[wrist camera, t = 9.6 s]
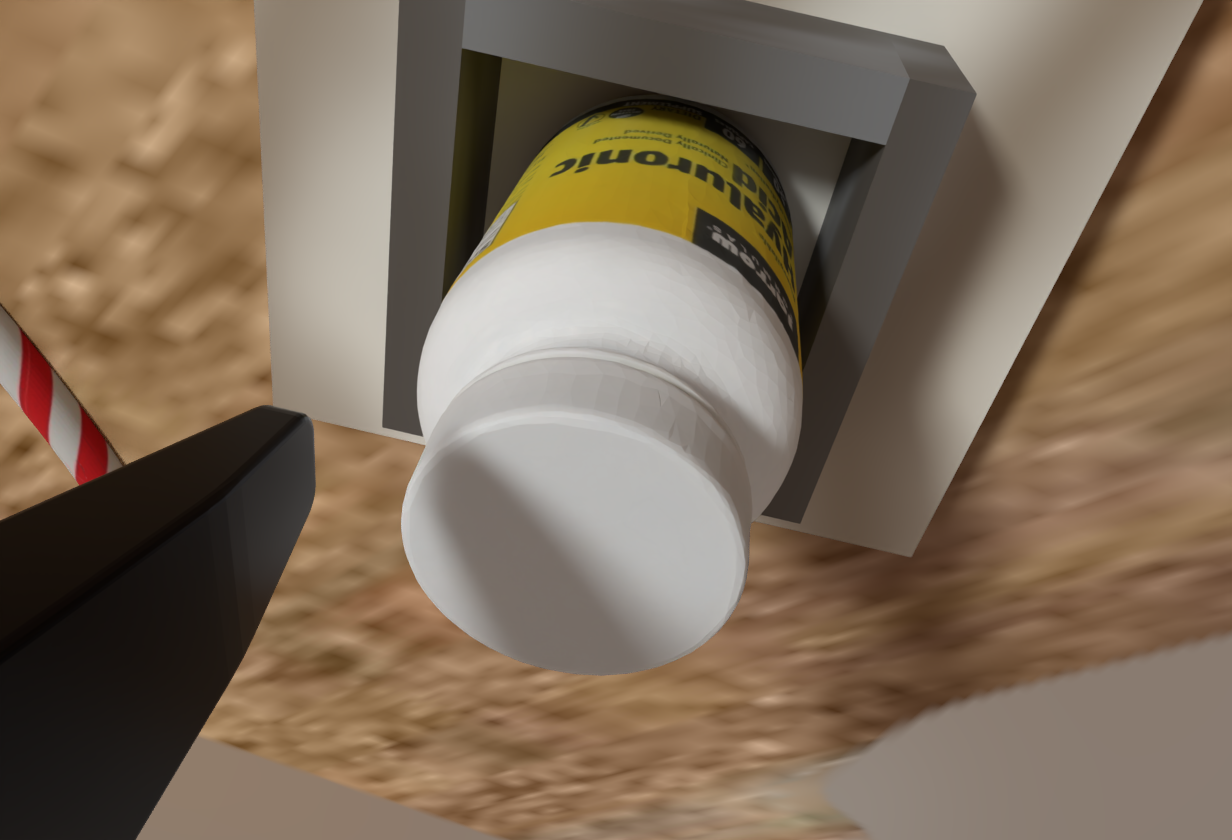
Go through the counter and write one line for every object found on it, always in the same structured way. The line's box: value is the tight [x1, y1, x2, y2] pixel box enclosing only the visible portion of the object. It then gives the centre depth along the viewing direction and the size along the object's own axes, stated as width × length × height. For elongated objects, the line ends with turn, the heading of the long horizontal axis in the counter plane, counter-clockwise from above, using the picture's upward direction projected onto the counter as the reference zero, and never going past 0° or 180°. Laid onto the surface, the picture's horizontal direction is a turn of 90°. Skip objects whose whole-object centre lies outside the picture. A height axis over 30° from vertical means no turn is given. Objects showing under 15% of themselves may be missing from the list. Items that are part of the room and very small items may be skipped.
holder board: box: [254, 0, 1203, 557], centre depth 18 cm, size 16×14×4 cm
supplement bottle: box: [401, 94, 803, 676], centre depth 14 cm, size 5×5×10 cm
